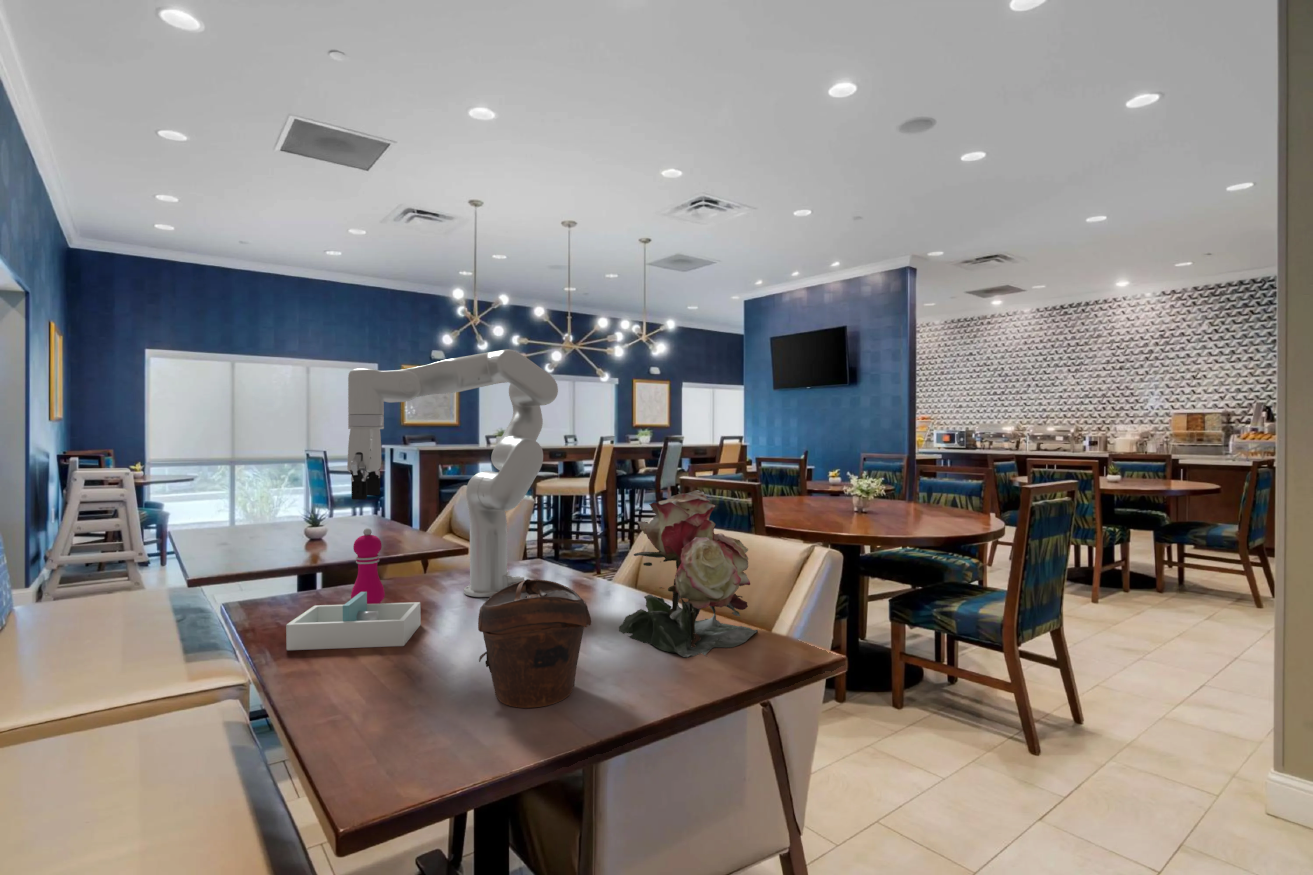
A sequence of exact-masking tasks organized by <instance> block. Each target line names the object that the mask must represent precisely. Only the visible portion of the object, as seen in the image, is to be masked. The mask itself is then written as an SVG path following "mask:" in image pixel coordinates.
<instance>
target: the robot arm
mask: <svg viewBox="0 0 1313 875" xmlns="http://www.w3.org/2000/svg"><path fill="white" fill-rule="evenodd" d="M347 382H348V386H347V390H348V391H347V392H348V395H347V398H348V400H347V401H348V404H347V405H348V407H347V414H348V415H347V416H348V418H347V421H348V422H347V423H348V424H347V425H348V430H349V435H348V445H347V446H348V448H347V471H348V472H349V473H350V474H351V477H350V481H351V499H352V500H355V501H356V500H366V499H368V496H379V495H381V472H380V470H381V468H382V441H381V440H382V436H381V430H384V429H385V424H384V423H385V419H384V418H385V417H384V416H385V415H384V414H385V410H384V409H385V408H384V406H385V404H384V402H386V403H390V404H391V403H406V402H410V401H413V400H414V399H416V398H419V397H423V396H424V397H425V396H430V395H446V394H447V395H449V394H453V393H460V392H465V391H470V390H474V389H478V388H483V387H488V386H493V385H498V384H506V383H509V386H508V397H509V400H510V402H511V405H512V418H511V419H510V422H509V424H508V425H507V427H506V429H505V430H504V432H503V434H502V435H501V437H500V438H499V440H498V442H496V445H495V446H494V448H493V449H492V453H491V456H490V458H491V459H490V460H491V463H492V465H493V466H494V468H495V469H497V470H498V472H497V471H489V470H485V471H481V472H477V473H476V474H475V475H473V476H472V477H471V478H470V479H469V480H468V483H467V485H466V491H465V493H466V502H467V508H468V516H469V518H468V519H469V584H468V585H467V586H465V587H464V588H463V593H464V595H466V596H468V597H472V598H473V597H475V598H490V597H491V596H492V595H493V594H495V593H497V592H498V591H500V590H501V589H503V588H505V587H507V586H510V585H512V584H515V583H518V582H521V581H524V580H525V577H523V576H521V575H520V576H519V575H517V576H516V575H515V576H513V575H510V571H508V523H507V522H508V520H507V515H506V512H508V511H511V510H513V509H515V508H517V507H518V506H519V504H520V503H521V502H522V501H523V500H524V498H525V496H526V495H527V493H528V491H529V490H530V488H531V486H532V485H533V483H534V481H535V479H536V477H537V476H538V474H539V472H540V471H541V469H542V466H543V462H544V451H543V448H542V446H541V444H540V443H539V442H538V441H537V439H538V438H539V436H540V434H541V432H542V430H543V429H542V428H543V424H544V423H543V414H542V408H541V406H546V405H550V404H551V403H553V402H554V401H555V400H556V399H557V397H558V394H559V386H558V383H557V381H556V380H555V378H554V377H553V376H552V375H551V374H550V373H549V372H547V371H546V370H545V369H543V368H541V367H540V366H539V365H537V364H536V363H535V362H533V361H532V360H531V359H529V358H528V357H526V356H525V355H523V354H521V353H520V352H518V351H517V350H513V349H507V348H506V349H501V350H494V351H488V352H481V353H477V354H472V355H471V354H470V355H466V356H459V357H454V358H448V359H443V360H440V361H435V362H432V363H429V364H425V365H420V366H415V367H409V368H405V369H404V368H402V369H395V370H379V369H374V368H354V369H351V370H350V371H349V373H348V377H347Z"/></svg>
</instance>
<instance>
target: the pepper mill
mask: <svg viewBox="0 0 1313 875" xmlns="http://www.w3.org/2000/svg"><path fill="white" fill-rule="evenodd" d="M362 533H363V535H361V536H359V537H357V538H356V539H355V540H354V543H353V552H354V553H355V554H356V555H357V556H356V557H355V559H356V561H355V564H357V576H356V579H355V581H354V585H353V586H352V590H351V593H350V600H351V599H352V598H354V597H355V596H356V595H357V594H359V593H360V592H367V604H378V603H382V602H383V601H384V599H385V597H386V593H385V587H384V585H383V583H382V581H381V578H380V577H379V573H378V563H379V562H380V555H379V553H380V552H381V550H382V545H383V544H382V541H381V539H380V537H378V536H376V535H373V533H372V529H371V528H369V527H366V528H365V529H364V530H363V532H362Z"/></svg>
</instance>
